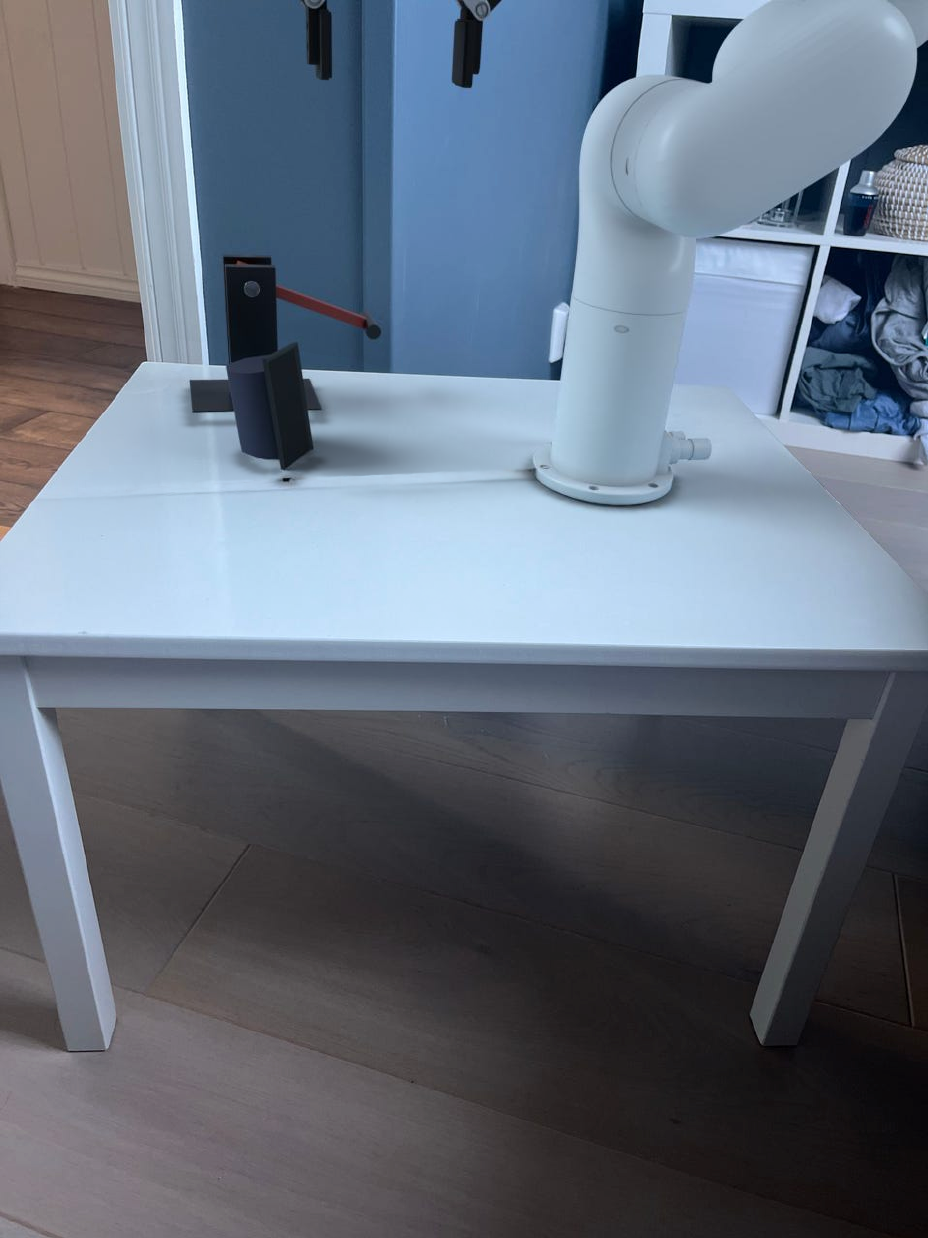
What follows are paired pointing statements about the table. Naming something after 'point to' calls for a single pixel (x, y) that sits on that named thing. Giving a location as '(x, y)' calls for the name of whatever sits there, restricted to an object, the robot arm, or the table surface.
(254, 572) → the table surface
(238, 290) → the bracket
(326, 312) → the lever
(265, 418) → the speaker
